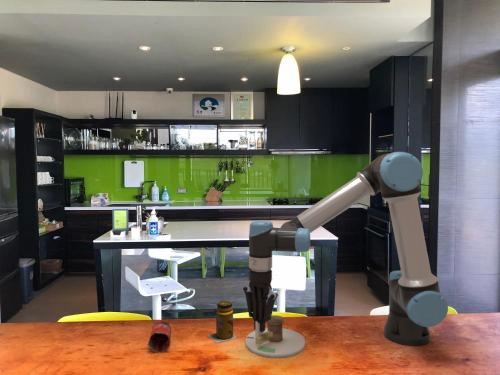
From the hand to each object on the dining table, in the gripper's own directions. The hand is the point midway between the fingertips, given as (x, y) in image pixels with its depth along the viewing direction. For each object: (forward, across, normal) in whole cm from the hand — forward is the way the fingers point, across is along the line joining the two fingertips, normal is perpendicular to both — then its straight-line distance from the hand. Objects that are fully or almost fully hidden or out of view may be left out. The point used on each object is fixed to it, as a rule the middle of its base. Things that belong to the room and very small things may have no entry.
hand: (259, 340), depth 128 cm
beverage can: (+4, -28, -18) cm, 34 cm away
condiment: (+4, -17, 0) cm, 17 cm away
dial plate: (+3, +1, +7) cm, 8 cm away
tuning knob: (+2, +1, +4) cm, 4 cm away
